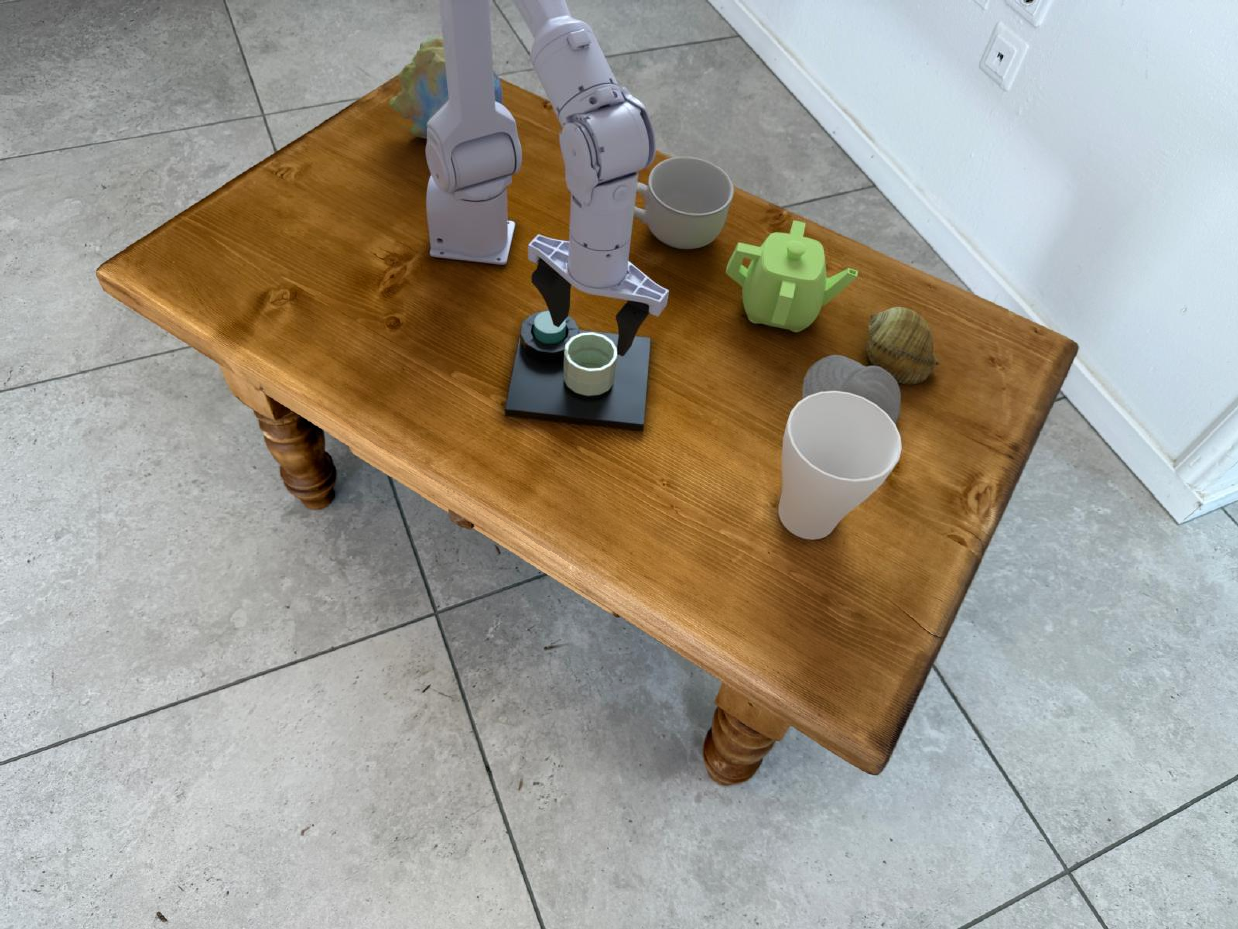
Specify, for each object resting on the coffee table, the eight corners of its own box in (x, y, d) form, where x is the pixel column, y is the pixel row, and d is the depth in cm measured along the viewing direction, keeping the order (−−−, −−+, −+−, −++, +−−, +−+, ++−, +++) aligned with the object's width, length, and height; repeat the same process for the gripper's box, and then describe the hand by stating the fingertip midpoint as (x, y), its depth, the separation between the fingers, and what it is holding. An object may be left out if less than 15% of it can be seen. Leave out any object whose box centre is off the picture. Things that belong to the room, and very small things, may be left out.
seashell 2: (914, 391, 108) (953, 334, 105) (921, 400, 101) (963, 339, 99) (845, 350, 108) (882, 293, 106) (847, 356, 102) (887, 295, 99)
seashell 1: (795, 372, 102) (788, 429, 95) (815, 336, 98) (810, 393, 91) (888, 406, 103) (888, 465, 96) (912, 372, 99) (914, 431, 92)
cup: (831, 465, 95) (870, 382, 84) (875, 547, 89) (922, 469, 78) (741, 483, 92) (769, 400, 82) (779, 569, 87) (815, 492, 76)
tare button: (531, 342, 98) (531, 331, 97) (535, 320, 100) (536, 308, 99) (563, 346, 98) (564, 335, 97) (567, 323, 101) (568, 312, 99)
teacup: (724, 213, 119) (735, 161, 112) (722, 267, 112) (733, 215, 106) (621, 200, 119) (626, 147, 112) (613, 253, 112) (618, 201, 106)
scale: (504, 416, 95) (504, 398, 93) (523, 325, 103) (522, 307, 101) (643, 431, 96) (645, 414, 93) (650, 340, 104) (653, 321, 101)
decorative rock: (467, 59, 107) (498, 5, 117) (352, 76, 112) (390, 23, 121) (503, 162, 118) (528, 104, 127) (396, 174, 122) (428, 117, 131)
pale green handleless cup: (553, 385, 97) (554, 357, 93) (579, 353, 100) (581, 324, 96) (598, 406, 96) (600, 378, 92) (623, 373, 99) (626, 345, 95)
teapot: (769, 355, 104) (789, 293, 96) (711, 295, 109) (726, 232, 101) (843, 321, 108) (868, 260, 100) (785, 265, 113) (804, 202, 105)
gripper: (689, 235, 82) (671, 338, 93) (555, 180, 85) (552, 286, 96) (655, 279, 78) (640, 381, 89) (515, 219, 81) (517, 325, 92)
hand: (592, 334), depth 92 cm, fingers open, 7 cm apart
